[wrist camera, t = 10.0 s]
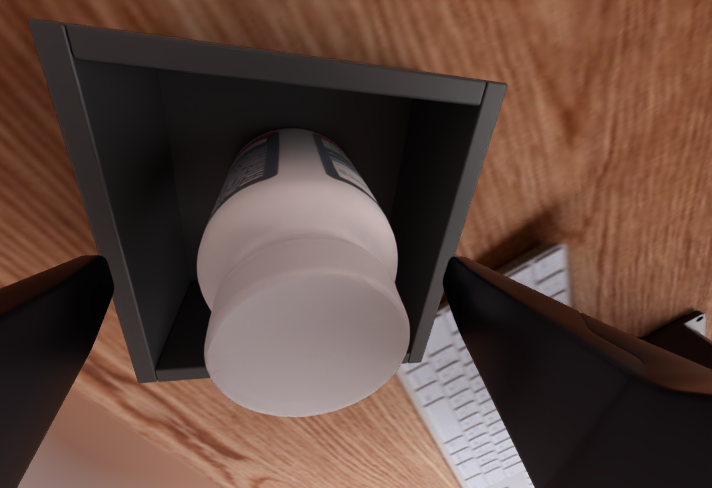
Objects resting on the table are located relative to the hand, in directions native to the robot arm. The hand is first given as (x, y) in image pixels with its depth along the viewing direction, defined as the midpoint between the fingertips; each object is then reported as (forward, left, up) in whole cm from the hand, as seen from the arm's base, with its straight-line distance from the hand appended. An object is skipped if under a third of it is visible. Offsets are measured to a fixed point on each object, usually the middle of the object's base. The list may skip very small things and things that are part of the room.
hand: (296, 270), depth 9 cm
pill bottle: (0, 0, -6) cm, 6 cm away
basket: (0, 0, -6) cm, 6 cm away
